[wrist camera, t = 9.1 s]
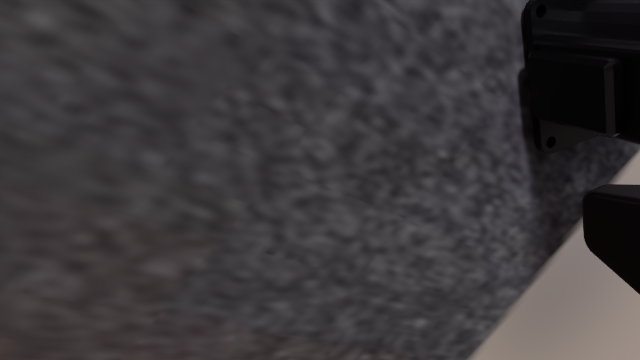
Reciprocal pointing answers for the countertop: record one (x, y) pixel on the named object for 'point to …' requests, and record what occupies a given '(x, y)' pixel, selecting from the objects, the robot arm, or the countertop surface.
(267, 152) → the countertop surface
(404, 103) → the countertop surface
